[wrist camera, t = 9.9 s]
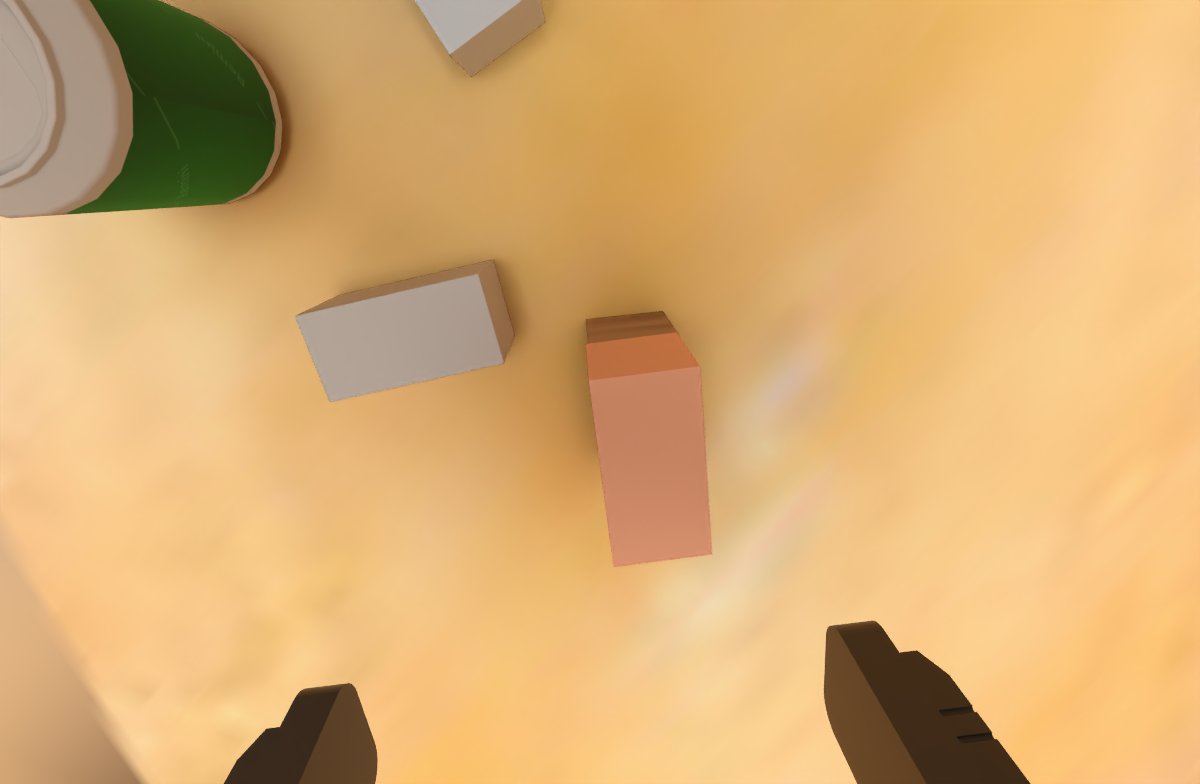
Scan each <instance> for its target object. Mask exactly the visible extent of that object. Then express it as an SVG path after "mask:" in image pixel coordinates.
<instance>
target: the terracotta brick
mask: <svg viewBox="0 0 1200 784" xmlns="http://www.w3.org/2000/svg"><path fill="white" fill-rule="evenodd" d="M586 353H587V366H588V378H589V387H590V394H591V402H592V409H593V417H594V424H595V431H596V439H597V446H598V454H599V461H600V469H601V476H602V484H603V491H604V498H605V506H606V513H607V521H608V528H609V536H610V543H611V550H612V558H613V565H614V567H617V566H624V565H632V564H640V563H648V562H656V561H663V560H671V559H679V558H687V557H695V556H702V555H710V554H712V545H711V530H710V514H709V498H708V483H707V467H706V452H705V436H704V420H703V405H702V389H701V374H700V366H699V364H698V363H697V361H696V360H695V358H694V357H693V355H692V354H691V353H690V351H689V350H688V348H687V347H686V345H685V344H684V342H683V341H682V339H681V338H680V336H679V335H678V334H677V332H675V333H667V334H659V335H651V336H643V337H636V338H628V339H620V340H612V341H604V342H597V343H589V344H586Z"/></svg>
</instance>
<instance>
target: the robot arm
mask: <svg viewBox="0 0 1200 784" xmlns="http://www.w3.org/2000/svg"><path fill="white" fill-rule="evenodd" d="M824 699H825V705H826V710H827V714H828V718H829V721H830V724H831V727H832V730H833V732H834V735H835V737H836V739H837V741H838V743H839V745H840V748H841V750H842V752H843V754H844V756H845V758H846V760H847V763H848V765H849V767H850V769H851V771H852V773H853V775H854V778H855V780H856V782H857V784H1030V783H1029V781H1028V780H1027V779H1026V777H1025V776H1024V775H1023V773H1022V772H1021V771H1020V769H1019V768H1018V766H1017V765H1016V764H1015V762H1014V761H1013V760H1012V758H1011V757H1010V756H1009V754H1008V753H1007V752H1006V750H1005V749H1004V748H1003V746H1002V745H1001V744H1000V742H999V741H998V740H997V739H994V738H993V736H992V732H991V730H990V729H989V728H988V726H987V725H986V724H985V722H984V721H983V720H982V718H981V717H980V716H979V714H978V713H977V712H974V711H973V708H972V705H971V704H970V702H969V701H968V700H967V698H966V697H965V696H964V694H963V693H962V692H961V690H960V689H959V688H958V686H957V685H956V684H955V682H954V681H953V680H952V678H951V677H950V675H948V674H947V673H946V672H945V671H943V670H942V669H941V668H939V667H938V666H937V665H935V664H934V663H933V662H931V661H930V660H929V659H927V658H926V657H925V656H924V655H922V654H921V653H920V652H918V651H909V652H901V653H899V651H898V650H897V648H896V647H895V645H894V644H893V643H892V641H891V640H890V638H889V637H888V635H887V634H886V632H885V631H884V629H883V628H882V627H881V626H880V625H879V624H878V623H877V622H876V621H866V622H858V623H850V624H842V625H834V626H829V627H828V629H827V633H826V653H825V677H824ZM376 775H377V750H376V745H375V742H374V739H373V736H372V734H371V731H370V728H369V725H368V722H367V719H366V717H365V714H364V711H363V708H362V705H361V702H360V700H359V697H358V694H357V691H356V689H355V687H354V686H353V685H352V684H350V683H348V684H339V685H331V686H323V687H315V688H307V689H303V690H302V691H300V692H299V693H298V695H297V696H296V697H295V699H294V701H293V703H292V705H291V707H290V709H289V711H288V713H287V714H286V716H285V718H284V720H283V722H282V724H281V726H280V727H277V728H269V729H266V730H265V731H264V732H263V733H262V734H261V735H260V736H259V737H258V738H257V740H256V741H255V742H254V743H253V744H252V745H251V746H250V747H249V748H248V749H247V750H246V751H245V752H244V754H243V755H242V756H241V757H240V758H239V759H238V760H237V761H236V763H235V765H234V767H233V768H232V770H231V772H230V774H229V775H228V777H227V779H226V781H225V783H224V784H375V781H376Z"/></svg>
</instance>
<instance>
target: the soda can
mask: <svg viewBox="0 0 1200 784" xmlns="http://www.w3.org/2000/svg"><path fill="white" fill-rule="evenodd" d="M281 137H282V119H281V115H280V111H279V107H278V102H277V98H276V94H275V92H274V90H273V88H272V86H271V84H270V83H269V81H268V79H267V77H266V75H265V73H264V71H263V70H262V68H261V66H260V64H259V63H258V62H257V61H256V60H255V59H254V58H253V57H252V56H251V55H250V54H249V53H248V52H247V50H246V49H245V48H244V47H243V46H242V45H241V44H240V43H239V42H238V41H237V40H236V39H235V38H233V37H231V36H230V35H228V34H227V33H225V32H223V31H222V30H220V29H219V28H217V27H215V26H214V25H212V24H211V23H209V22H207V21H205V20H202V19H200V18H198V17H196V16H193V15H191V14H189V13H186V12H184V11H182V10H180V9H177V8H175V7H173V6H170V5H168V4H166V3H164V2H161V1H159V0H0V216H2V217H7V218H18V217H34V216H49V215H65V214H80V213H95V212H111V211H126V210H142V209H157V208H172V207H188V206H203V205H217V204H230V203H232V202H234V201H237V200H239V199H241V198H243V197H245V196H248V195H250V194H252V193H254V192H255V191H256V190H257V189H258V188H259V187H260V186H261V184H262V183H263V182H264V181H265V180H266V179H267V178H268V177H269V176H270V175H271V173H272V171H273V168H274V166H275V163H276V161H277V159H278V156H279V154H280V151H281Z"/></svg>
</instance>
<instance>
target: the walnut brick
mask: <svg viewBox="0 0 1200 784" xmlns="http://www.w3.org/2000/svg"><path fill="white" fill-rule="evenodd" d="M586 326H587V337H588V344H589V343H597V342H604V341H612V340H620V339H628V338H636V337H643V336H651V335H659V334H667V333H675V332H677V331H676V330H675V328H674V327H673V325H672V324H671V322H670V321H669V319H668V318H667V317H666V315H665V314H664V312H663V311H659V312H649V313H640V314H631V315H622V316H612V317H603V318H594V319H586ZM677 334H678V333H677ZM678 335H679V334H678Z"/></svg>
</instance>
